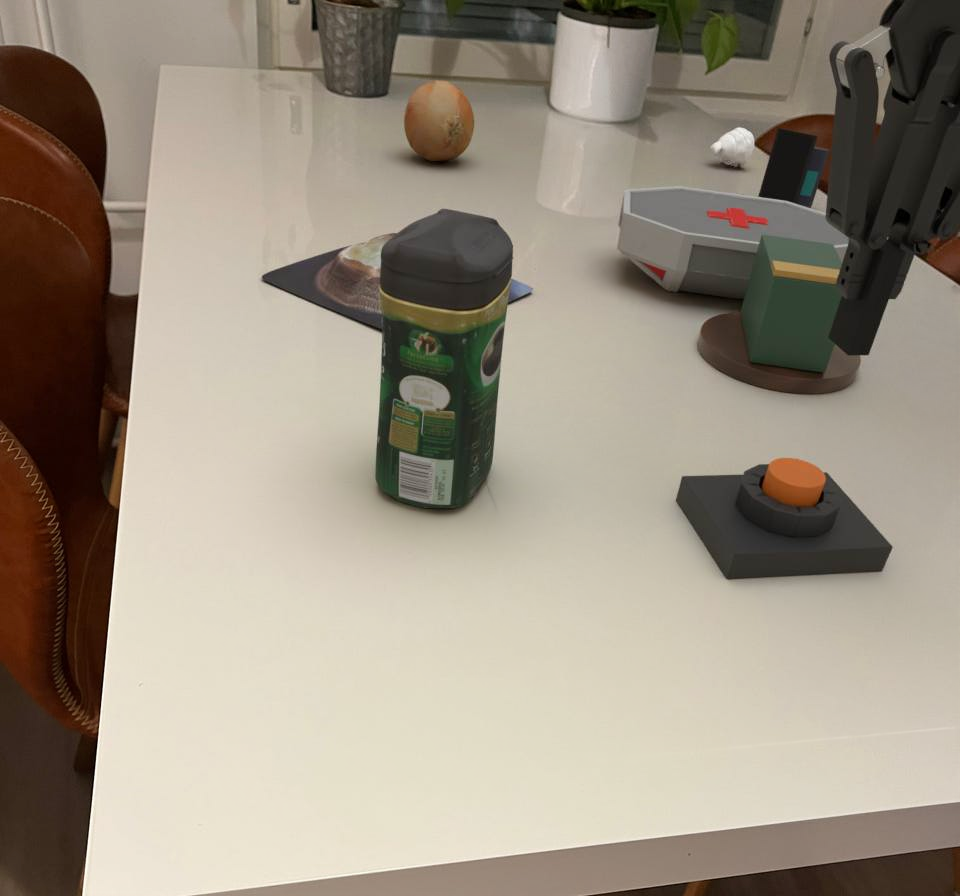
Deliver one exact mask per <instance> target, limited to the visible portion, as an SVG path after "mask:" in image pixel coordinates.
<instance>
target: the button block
mask: <svg viewBox="0 0 960 896" xmlns="http://www.w3.org/2000/svg"><path fill="white" fill-rule="evenodd" d="M769 464H770V463H759V464H757V465H755V466H752V467H751V468H748V469H747V470H744V472H743V474H712V475H682V476H681V479H680V483H679V487H678V491H677V494H676V498H675V502H676V503H677V505H678V507H679V509H680V510H681V511H682V513H683V514H684V516H685V518H686V519H687V521H688V522H689V523H690V525H691V526H692V528H693V530H694V532H695V533H696V535H697V536H698V538H699V539H700V541H701V543H702V544H703V545H704V547H705V548H706V550H707V552H708V553H709V555H710V556H711V558H712V560H713V561H714V562H715V564H716V566H717V568H718V569H719V570H720V572H721V573H722V575H723V577H724V578H725V580H726V581H727V580H748V579H767V578H786V577H805V576H826V575H844V574H860V573H861V574H866V573H881V572H883V571H884V568H885V566H886V563H887V561H888V559H889V557H890V554H891V552H892V550H893V549H894V548H893V546H892V544H891V542H890V541H888V540H887V539H886V537H885V536H884V535H883V534H882V533H881V532H880V530H879V529H878V528H877V527H876V526H875V525H874V524H873V522H872V521H871V520H869V518H868V516H866V514H864V513H863V511H862V510H861V509H860V508H859V507H858V505H857V504H855V502H854V501H853V500H852V499H851V498H850V496H848V494H847V493H846V492H845V491H844V490H843V489H842V488H841V487H840V485H839V484H838V483H837V482H836V481H835V480H834V478H833V477H832V476H830V474H829V473H828V472H827V471H826V472H824V471H823V473H824V474H825V477H826V481H825V484H824V487H823V489H822V492H821V495H820V497H819V500H818V502H817V503H816V504H815V505H814V506H806V507H796V506H792V505H788V504H784V503H781V502H779V501H777V500H775V499H773V498H771V497H770V496H768V495H766V494H765V493H764V492H763V490H762V484H763V481H764V478H765V475H766V472H767V469H768V466H769Z"/></svg>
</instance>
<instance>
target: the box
mask: <svg viewBox="0 0 960 896" xmlns="http://www.w3.org/2000/svg"><path fill="white" fill-rule="evenodd" d="M841 265H842V262H841V260H840V258H839V256H838V254H837V251H836V249H835V247H834V245H833V244H828V243H820V242H813V241H806V240H798V239H791V238H784V237H777V236H769V235H761V239H760V242H759V246H758V250H757V253H756V257H755V261H754V265H753V268H752V272H751V276H750V279H749V283H748V287H747V290H746V294H745V298H744V300H743V301H742V305H741V309H740V311H739V312H740V315H741V320H742V325H743V330H744V334H745V339H746V344H747V348H748V353H749V358H750V362H751V363H758V364H765V365H772V366H779V367H787V368H794V369H801V370H808V371H815V372H822V373H825V372H826V369H827V366H828V363H829V360H830V357H831V354H832V351H833V348H834V345H835V343H834V342H833V341H831V340H830V339H829V338H828V337H829V334H830V330H831V327H832V324H833V321H834V318H835V315H836V312H837V309H838V306H839V303H840V300H841V297H842V295H841V294H840V293H838V292H837V291H836V281H837V278H838V275H839V271H840V268H841Z"/></svg>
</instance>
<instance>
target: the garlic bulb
mask: <svg viewBox="0 0 960 896" xmlns="http://www.w3.org/2000/svg"><path fill="white" fill-rule="evenodd" d="M717 140H718V141H716V142H713V144H712V145H711V146H710V152H711V153H712V154H713V155H714V156H716V157H719V158H720V159H721V160H722V162H723V163H724V165H726V166H729V165H731V166H734V167H733V168H737V167H739V166H740V168H743V167H745V166H746V165H748V162H749V161H750V160H751V158H752V156H753V154H754V151H755V138H754V135H753V133H752V132H751V131H750V130H748V129H746V128H744V127H736V128H734V129H732V130H731V131H728V132H726V133H725V134H723V135H722V136H720V138H719V139H717ZM737 165H738V166H737ZM731 166H730V167H731Z"/></svg>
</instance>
